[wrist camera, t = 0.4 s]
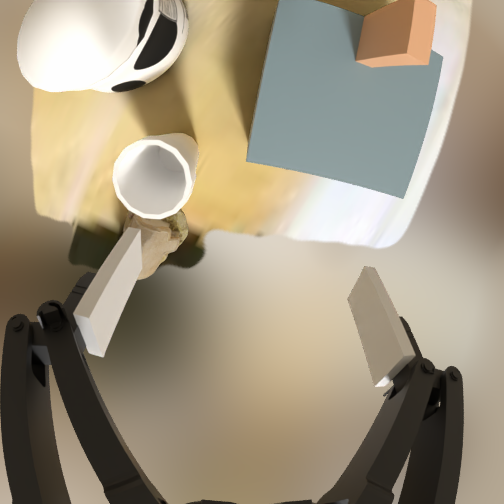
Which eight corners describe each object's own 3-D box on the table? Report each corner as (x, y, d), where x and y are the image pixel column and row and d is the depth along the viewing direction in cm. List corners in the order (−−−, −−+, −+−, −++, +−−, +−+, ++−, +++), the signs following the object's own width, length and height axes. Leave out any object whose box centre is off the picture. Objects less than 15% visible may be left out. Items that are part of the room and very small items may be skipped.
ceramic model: (138, 186, 42) (112, 213, 33) (197, 216, 45) (184, 249, 37) (116, 248, 48) (94, 281, 40) (167, 273, 52) (153, 310, 43)
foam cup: (221, 160, 40) (208, 192, 29) (174, 192, 42) (147, 232, 31) (185, 110, 35) (156, 121, 24) (138, 146, 38) (98, 172, 27)
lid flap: (280, -5, 19) (296, -52, 9) (438, 56, 21) (506, 60, 11) (246, 159, 30) (242, 201, 20) (399, 195, 32) (449, 245, 22)
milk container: (72, 68, 29) (-7, 77, 14) (128, -21, 21) (67, -57, 6) (151, 109, 35) (87, 130, 20) (219, 15, 27) (194, -33, 12)
